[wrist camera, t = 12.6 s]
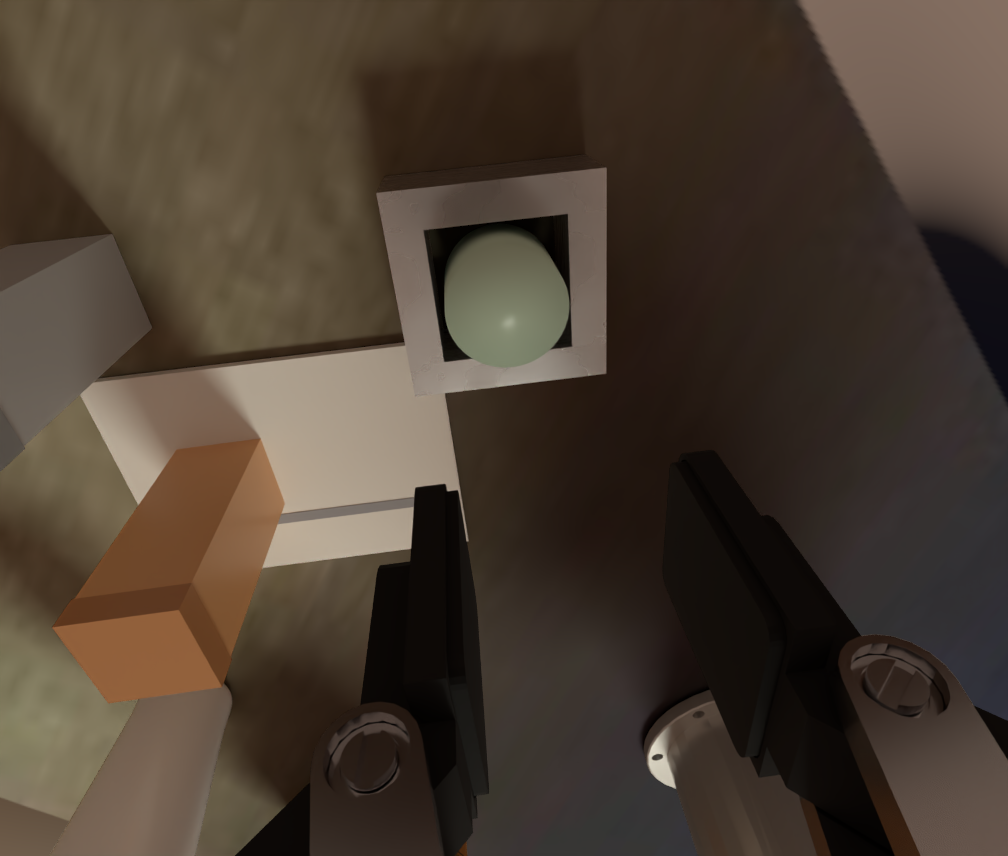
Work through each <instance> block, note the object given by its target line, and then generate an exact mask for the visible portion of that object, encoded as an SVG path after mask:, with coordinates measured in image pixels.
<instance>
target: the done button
mask: <svg viewBox="0 0 1008 856" xmlns="http://www.w3.org/2000/svg"><path fill="white" fill-rule="evenodd" d="M444 303H445V319H446V324H447V327H448V330H449V333H450V335H451V337H452V338H453V340H454V342H455V343H456V344H457V346H458V347H459V348H460V349H461V350H462V351H463V352H464V353H465V354H467V355H468V356H469V357H471V358H472V359H474V360H476V361H478V362H480V363H482V364H486V365H489V366H494V367H504V368H506V367H516V366H521V365H524V364H528V363H530V362H532V361H534V360H536V359H538V358H540V357H541V356H543V355H544V354H545V353H547V352H548V351H549V350H550V349H551V348H552V347H553V346H554V345H555V343H556V342H557V341H558V340H559V338H560V336H561V335H562V333H563V331H564V329H565V327H566V323H567V320H568V315H569V295H568V291H567V287H566V285H565V282H564V280H563V278H562V277H561V275H560V273H559V271H558V270H557V268H556V266H555V264H554V262H553V261H552V259H551V257H550V255H549V254H548V252H547V250H546V248H545V247H544V245H543V244H542V243H541V241H540V240H539V239H538V238H536V237H535V236H534V235H533V234H532V233H530V232H529V231H527V230H525V229H523V228H521V227H518V226H515V225H510V224H502V223H501V224H490V225H485V226H482V227H479V228H477V229H475V230H473V231H471V232H470V233H468V234H467V235H466V236H464V237H463V238H462V239H461V240H460V241H459V242H458V243H457V244H456V246H455V247H454V249H453V250H452V252H451V254H450V256H449V258H448V260H447V263H446V267H445V273H444Z"/></svg>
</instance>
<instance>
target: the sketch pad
mask: <svg viewBox="0 0 1008 856" xmlns="http://www.w3.org/2000/svg"><path fill="white" fill-rule="evenodd" d="M80 395H81V397H82V399H83V401H84V403H85V405H86V407H87V409H88V411H89V412H90V414H91V416H92V418H93V420H94V422H95V424H96V426H97V428H98V429H99V431H100V433H101V435H102V437H103V439H104V441H105V443H106V445H107V447H108V448H109V450H110V452H111V454H112V456H113V458H114V460H115V462H116V464H117V465H118V467H119V469H120V471H121V473H122V475H123V477H124V479H125V481H126V483H127V484H128V486H129V488H130V490H131V492H132V494H133V496H134V498H135V500H136V501H137V503H138V505H139V504H140V502H141V501H142V499H143V498H144V496H145V495H146V494H147V492H148V491H149V489H150V488H151V486H152V485H153V483H154V482H155V480H156V479H157V477H158V476H159V475H160V473H161V472H162V470H163V469H164V467H165V466H166V464H167V463H168V461H169V460H170V458H171V457H172V455H173V454H174V453H175V451H176V450H177V449H184V448H191V447H199V446H206V445H214V444H222V443H229V442H237V441H245V440H252V439H260V438H261V441H262V443H263V446H264V449H265V451H266V454H267V457H268V459H269V462H270V465H271V467H272V470H273V473H274V475H275V478H276V481H277V483H278V486H279V489H280V491H281V494H282V497H283V499H284V502H285V505H284V508H283V511H282V513H281V516H280V519H279V522H278V525H277V528H276V530H275V533H274V536H273V539H272V542H271V545H270V547H269V550H268V553H267V556H266V559H265V562H264V564H263V567H262V568H265V567H273V566H281V565H289V564H296V563H304V562H312V561H320V560H327V559H335V558H343V557H351V556H358V555H366V554H374V553H382V552H389V551H397V550H405V549H411V543H412V527H413V510H414V494H415V488H416V487H422V486H430V485H438V484H446V487H447V491H454V490H458V492H459V497H460V503H461V509H462V515H463V522H464V528H465V534H466V540H467V541H468V534H467V527H466V521H465V515H464V509H463V502H462V496H461V490H460V484H459V477H458V471H457V465H456V459H455V452H454V446H453V440H452V434H451V427H450V421H449V415H448V409H447V402H446V396H445V393H443V394H435V395H427V396H418V397H415V393H414V388H413V383H412V378H411V372H410V367H409V362H408V357H407V352H406V346H405V342H402V343H394V344H385V345H377V346H368V347H360V348H351V349H343V350H335V351H326V352H318V353H309V354H301V355H292V356H284V357H275V358H267V359H259V360H250V361H242V362H233V363H225V364H216V365H208V366H199V367H191V368H183V369H174V370H166V371H157V372H149V373H140V374H132V375H124V376H115V377H107V378H98V379H97V380H95V381H94V382H93V383H92V384H91V385H90V386H89V387H88V388H87V389H86V390H85V391H83V392H82V393H81V394H80Z"/></svg>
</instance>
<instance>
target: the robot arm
mask: <svg viewBox="0 0 1008 856" xmlns="http://www.w3.org/2000/svg"><path fill="white" fill-rule="evenodd" d="M663 578H664V582H665V586H666V589H667V591H668V593H669V596H670V598H671V600H672V603H673V605H674V607H675V610H676V612H677V614H678V617H679V619H680V621H681V624H682V626H683V628H684V631H685V633H686V635H687V638H688V640H689V642H690V645H691V647H692V649H693V652H694V654H695V656H696V659H697V661H698V663H699V666H700V668H701V670H702V673H703V675H704V677H705V680H706V682H707V684H708V687H709V689H710V690H707V691H705V692H702V693H699V694H697V695H694V696H692V697H690V698H688V699H686V700H684V701H682V702H680V703H678V704H677V705H675V706H674V707H672V708H671V709H669V710H668V711H667V712H665V713H664V714H663V715H662V716H661V717H660V718H659V719H658V720H657V721H656V722H655V724H654V725H653V726H652V728H651V729H650V730H649V732H648V734H647V736H646V739H645V742H644V754H645V759H646V762H647V765H648V768H649V770H650V772H651V773H652V775H653V776H654V777H655V778H656V779H657V780H659V781H660V782H662V783H663V784H665V785H668V786H670V787H673V788H676V789H677V793H678V796H679V799H680V802H681V805H682V808H683V811H684V814H685V817H686V820H687V823H688V826H689V830H690V833H691V836H692V839H693V842H694V845H695V848H696V851H697V854H698V856H1008V721H1007V720H1005V719H1002V718H1000V717H998V716H996V715H993V714H991V713H989V712H987V711H985V710H982V709H980V708H978V707H976V706H974V705H973V704H972V702H971V701H970V699H969V697H968V696H967V694H966V693H965V691H964V689H963V688H962V686H961V685H960V683H959V681H958V680H957V679H956V677H955V676H954V675H953V674H952V672H951V671H950V670H949V669H948V668H947V666H946V665H945V664H944V663H942V662H941V661H940V660H939V659H937V658H936V657H935V656H934V655H932V654H931V653H930V652H928V651H926V650H924V649H923V648H921V647H919V646H917V645H915V644H913V643H912V642H908V641H905V640H902V639H899V638H896V637H893V636H886V635H878V634H872V635H864V636H861V635H860V634H859V632H858V631H857V629H856V628H855V627H854V625H853V624H852V623H851V621H850V620H849V619H848V617H847V616H846V614H845V613H844V612H843V610H842V609H841V608H840V606H839V605H838V604H837V602H836V601H835V599H834V598H833V597H832V595H831V594H830V593H829V591H828V590H827V589H826V587H825V586H824V584H823V583H822V582H821V580H820V579H819V578H818V576H817V575H816V574H815V572H814V571H813V569H812V568H811V567H810V565H809V564H808V563H807V561H806V560H805V559H804V557H803V556H802V554H801V553H800V552H799V550H798V549H797V548H796V546H795V545H794V544H793V542H792V541H791V539H790V538H789V537H788V535H787V534H786V533H785V531H784V530H783V529H782V527H781V526H780V524H779V523H778V522H777V521H776V520H775V519H774V518H773V517H771V516H768V515H766V516H761V515H760V514H759V513H758V511H757V510H756V508H755V507H754V506H753V504H752V503H751V501H750V500H749V498H748V497H747V496H746V494H745V493H744V491H743V490H742V489H741V487H740V486H739V484H738V483H737V481H736V480H735V479H734V477H733V476H732V474H731V473H730V472H729V470H728V469H727V467H726V466H725V465H724V463H723V462H722V460H721V459H720V457H719V456H718V455H717V453H716V452H715V451H713V450H708V451H700V452H692V453H684V454H681V455H680V458H679V462H676V463H672V464H671V465H670V470H669V483H668V497H667V511H666V526H665V540H664V554H663ZM484 794H489V782H488V767H487V751H486V736H485V721H484V706H483V691H482V676H481V661H480V646H479V631H478V615H477V604H476V596H475V589H474V583H473V577H472V571H471V565H470V558H469V552H468V546H467V540H466V534H465V528H464V522H463V515H462V509H461V503H460V497H459V492H458V490H454V491H447V487H446V484H438V485H430V486H422V487H416V488H415V494H414V510H413V527H412V543H411V559H410V562H403V563H396V564H388V565H380V566H379V568H378V572H377V577H376V585H375V593H374V601H373V609H372V617H371V625H370V633H369V641H368V649H367V657H366V665H365V673H364V681H363V689H362V697H361V705H360V706H358V707H355V708H353V709H351V710H348V711H347V712H345V713H344V714H343V715H341V716H340V717H339V718H337V719H336V720H335V721H333V722H332V724H331V725H330V726H329V727H328V728H327V730H326V731H325V732H324V733H323V734H322V736H321V737H320V740H319V742H318V744H317V746H316V748H315V750H314V752H313V757H312V763H311V769H310V783H309V784H308V785H307V786H306V787H305V788H304V789H303V790H302V791H301V792H300V793H299V794H298V795H297V796H296V797H295V798H294V799H293V800H292V801H291V802H289V803H288V804H287V805H286V806H285V807H284V808H283V809H282V810H281V811H280V812H279V813H278V814H277V815H276V816H275V817H274V818H273V819H272V820H271V821H270V822H269V823H268V824H267V825H266V826H265V827H264V828H263V829H262V830H261V831H260V832H259V833H258V834H257V835H256V836H255V837H254V838H253V839H252V840H251V841H250V842H249V843H248V844H247V845H246V846H245V847H244V848H243V849H242V850H240V851H239V852H238V853H237V854H236V855H235V856H455V855H456V854H457V853H458V851H459V850H460V849H461V847H462V846H463V845H464V843H465V842H466V841H467V840H468V838H469V837H470V836H471V834H472V833H473V828H472V819H475V818H477V798H476V796H477V795H484Z"/></svg>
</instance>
